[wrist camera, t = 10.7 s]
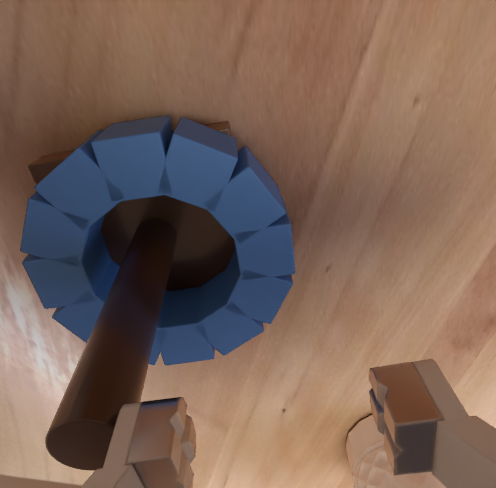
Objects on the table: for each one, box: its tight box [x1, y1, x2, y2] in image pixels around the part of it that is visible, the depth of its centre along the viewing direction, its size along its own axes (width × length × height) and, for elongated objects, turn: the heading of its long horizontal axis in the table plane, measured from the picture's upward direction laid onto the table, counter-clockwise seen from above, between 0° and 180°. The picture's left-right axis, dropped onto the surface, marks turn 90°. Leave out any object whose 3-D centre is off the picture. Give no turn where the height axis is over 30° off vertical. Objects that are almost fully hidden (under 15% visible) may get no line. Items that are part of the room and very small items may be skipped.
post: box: [28, 121, 235, 470], centre depth 15 cm, size 9×9×12 cm
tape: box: [20, 115, 295, 365], centre depth 18 cm, size 11×11×3 cm
